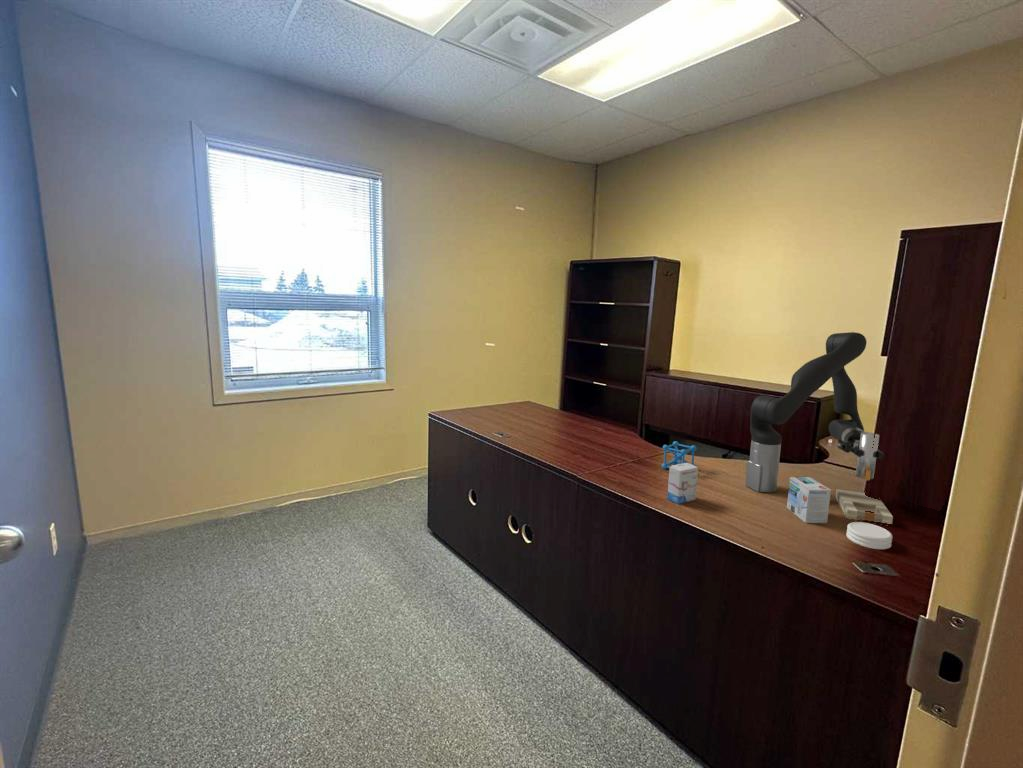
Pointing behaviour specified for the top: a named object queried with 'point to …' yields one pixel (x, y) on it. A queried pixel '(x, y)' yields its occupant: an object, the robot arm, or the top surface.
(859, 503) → the hub plate
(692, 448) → the molecular structure
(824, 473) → the top surface
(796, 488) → the light bulb box
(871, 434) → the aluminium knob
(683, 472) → the ink box
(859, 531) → the coaster
